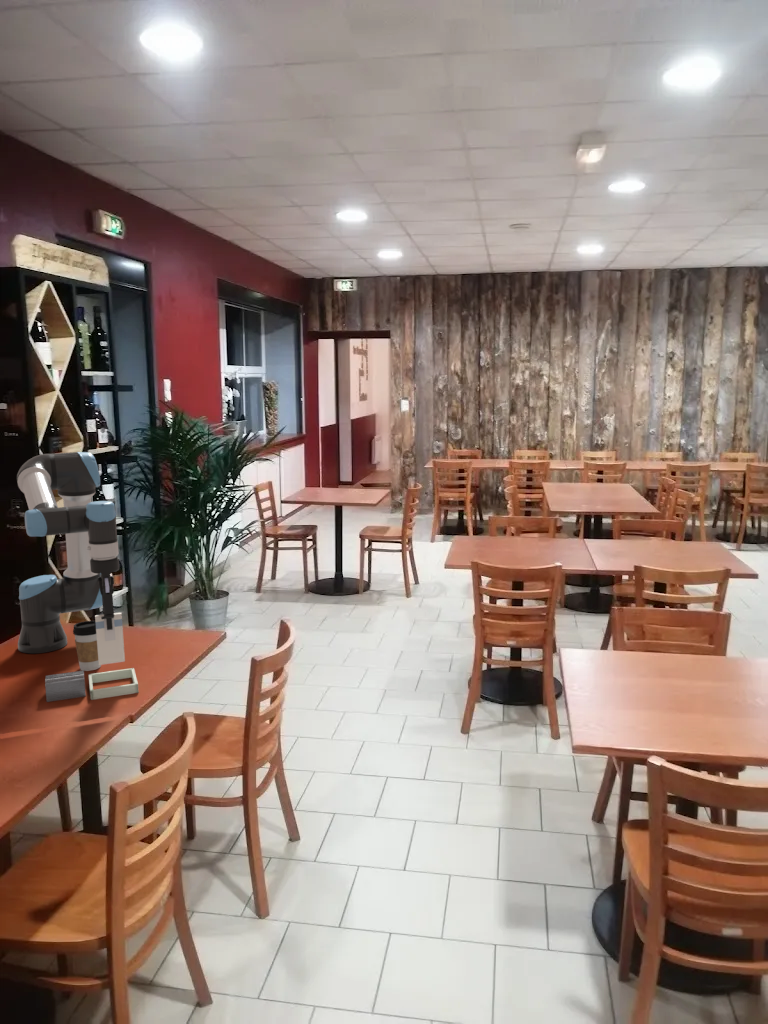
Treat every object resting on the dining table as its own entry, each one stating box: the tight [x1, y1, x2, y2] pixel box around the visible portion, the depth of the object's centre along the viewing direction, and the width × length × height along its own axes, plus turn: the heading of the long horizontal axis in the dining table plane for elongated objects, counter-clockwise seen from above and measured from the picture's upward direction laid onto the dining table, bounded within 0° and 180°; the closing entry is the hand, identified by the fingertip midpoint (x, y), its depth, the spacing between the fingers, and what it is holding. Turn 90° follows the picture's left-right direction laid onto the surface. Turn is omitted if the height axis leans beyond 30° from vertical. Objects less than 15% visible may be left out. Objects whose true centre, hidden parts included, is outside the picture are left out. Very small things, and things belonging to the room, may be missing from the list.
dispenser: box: [44, 670, 87, 703], centre depth 218 cm, size 7×10×7 cm
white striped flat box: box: [94, 611, 126, 666], centre depth 220 cm, size 2×7×14 cm, turn 112°
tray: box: [88, 667, 140, 701], centre depth 222 cm, size 14×13×4 cm
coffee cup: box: [72, 620, 102, 672], centre depth 238 cm, size 8×8×15 cm
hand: (110, 638), depth 220 cm, fingers closed on white striped flat box, 2 cm apart
